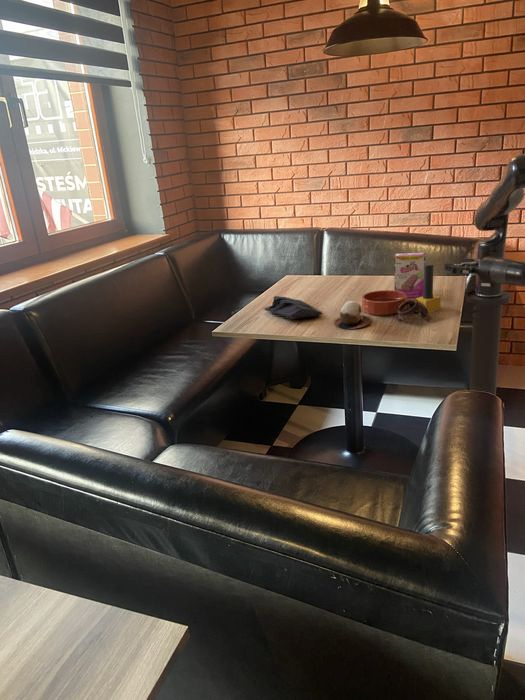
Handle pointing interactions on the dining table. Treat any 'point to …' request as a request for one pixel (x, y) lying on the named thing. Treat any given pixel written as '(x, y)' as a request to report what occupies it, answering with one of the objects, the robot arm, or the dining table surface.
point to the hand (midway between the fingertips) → (454, 263)
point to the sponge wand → (429, 291)
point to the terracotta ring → (383, 302)
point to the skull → (352, 316)
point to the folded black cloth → (291, 308)
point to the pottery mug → (412, 309)
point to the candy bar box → (409, 274)
